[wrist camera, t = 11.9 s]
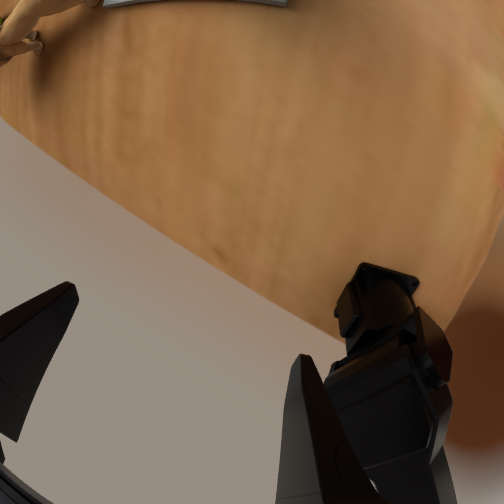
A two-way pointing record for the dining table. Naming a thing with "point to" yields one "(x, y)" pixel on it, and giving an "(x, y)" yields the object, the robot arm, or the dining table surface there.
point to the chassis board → (120, 0)
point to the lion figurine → (29, 25)
